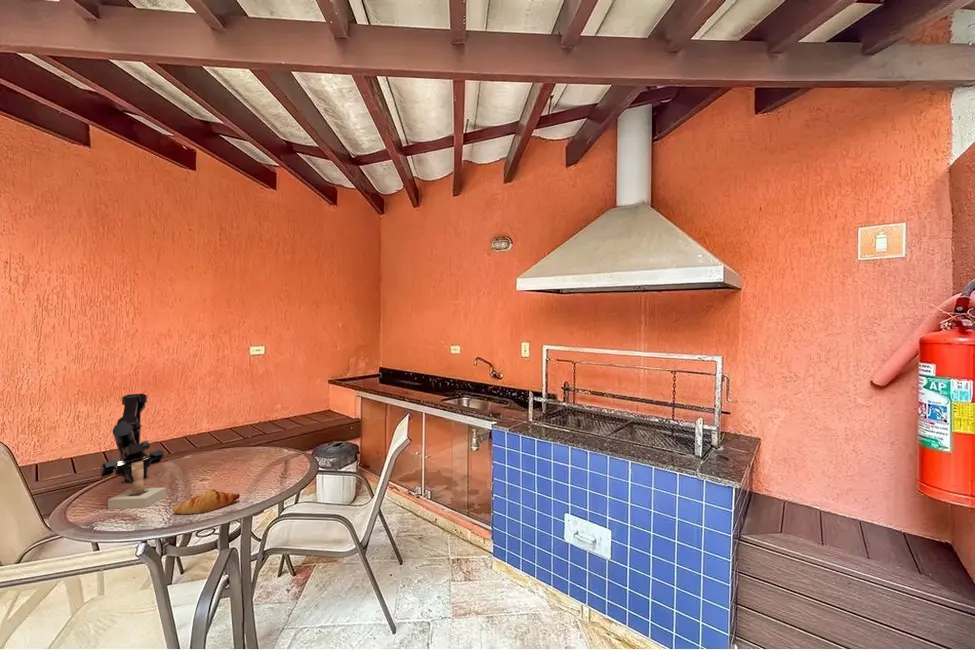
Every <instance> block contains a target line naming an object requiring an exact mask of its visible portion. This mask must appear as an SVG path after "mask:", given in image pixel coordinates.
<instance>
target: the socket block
mask: <svg viewBox="0 0 975 650" xmlns="http://www.w3.org/2000/svg"><path fill="white" fill-rule="evenodd" d="M166 497H167V487H146V488H145V487H144V494H142V495H140V496H132V488H129V489H127V490H125V491H123V492H121V493H119V494H117V495H115V496H113V497H111V498H109V499H108V500H107V501H108V503H107V504H108V506H107V507H108V510H110V509H111V510H113V509H116V510H117V509H135V508H136V509H137V508H141V509H143V508H148V507H150V506H151V505H153V504H155V503H157V502H159V501H160V500H162V499H163V498H166Z"/></svg>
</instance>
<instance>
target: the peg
mask: <svg viewBox="0 0 975 650" xmlns="http://www.w3.org/2000/svg"><path fill="white" fill-rule="evenodd" d="M131 464H132V477H133V480H134V482H133V483H131V489H132V496H140V495H142V494H144V488H145V479H144V470H143V461H136V462H133V463H131Z"/></svg>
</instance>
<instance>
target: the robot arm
mask: <svg viewBox="0 0 975 650" xmlns="http://www.w3.org/2000/svg"><path fill="white" fill-rule="evenodd" d="M147 403H148V395H147V394H144V393H133V394H126V395H124V396H122V397H121V405H122V406H124V408H123V412H122V413H123V414H122V416H121V417H120V418H119V419H117V422H116V424H115V425H114V427H113V429H112V435H113V437H114V440H115V444H116V447H117V450H118V454H119V456H118V457H119V459H120V460H119V461H117V460H116V459H115V460H111V461H106V462H103V463H102V464H101V467H100V468H99V469H100V470H99V475H100V477H101V478H103V477H107V476H111V475H112V474H114V475H115V476H118V475H119V476H120V477H122V478H124V480H122V481H121V484H122V483H123V482H130V483H131V484H132V483H133V482H134V480H133V477H132V464H131V463H133V462H136V461H143V470H144V480H147V478H148V475H147V473H148V468H149V467H150V466H151V465H154V464H159V463H160V462H161V461H162V459H163V457H164V455H165V453H164V451H163V450H161V449H157V450H153V451H150V452H149V454H147V452H146V451H145V450H149V449H150V447H151V445H150V442H149V440H143V441H141V428H142V424H141V423H142V422H141V421H142V420H141V418H142V417H141V416H142V415H141V414H142V412H143V411H144V409H146V404H147ZM114 470H115V471H114ZM114 472H115V473H114ZM123 484H124V483H123Z"/></svg>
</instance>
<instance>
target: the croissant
mask: <svg viewBox="0 0 975 650" xmlns="http://www.w3.org/2000/svg"><path fill="white" fill-rule="evenodd" d="M240 496H241V494H240V493H238V492H237V493H234V492H225V491H221V490H220V491H218V490H216V489H214V488H213V489H208V490H206V491H205V492H203V493H202V494H198V495H195V496H192V497H191V498H190V499H187V500H185V501H182V502H180V503H179V504H177V505H176V506H173V507H172V512H173V513H175V514H180V515H181V514H183V515H185V514H186V515H188V514H189V515H193V514H192V513H196V514H201V513H205V512H206V513H207V512H211V511H215V510H217V509H219V508H222V507H226V506H228V505H230V504H232V503H234V502H235V501H237V500H239V499H240Z"/></svg>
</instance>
